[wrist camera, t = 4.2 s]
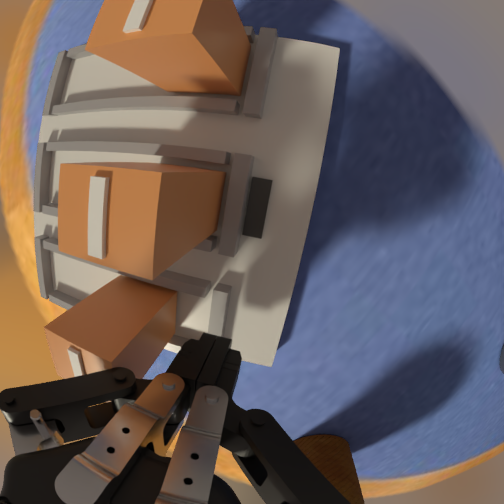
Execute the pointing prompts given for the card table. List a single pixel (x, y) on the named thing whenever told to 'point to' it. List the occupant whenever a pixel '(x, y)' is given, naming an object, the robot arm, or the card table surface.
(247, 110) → the switch bank
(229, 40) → the tab near
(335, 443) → the disposable coffee cup
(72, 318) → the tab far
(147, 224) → the tab mid
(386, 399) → the card table surface
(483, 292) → the card table surface
